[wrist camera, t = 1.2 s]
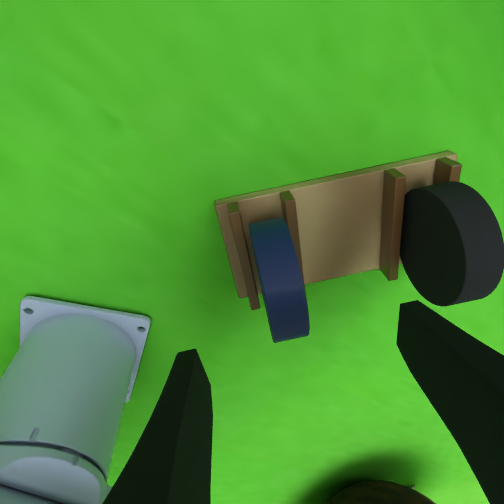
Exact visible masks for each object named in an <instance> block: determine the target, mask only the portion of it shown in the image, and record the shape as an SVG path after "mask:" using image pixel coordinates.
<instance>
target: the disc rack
mask: <svg viewBox="0 0 504 504" xmlns="http://www.w3.org/2000/svg"><path fill="white" fill-rule="evenodd" d="M456 161H457V154H456V153H453V152H451V151H446V152H441V153H436V154H432V155H427V156H422V157H418V158H413V159H408V160H403V161H399V162H394V163H389V164H385V165H380V166H375V167H370V168H366V169H361V170H356V171H352V172H347V173H342V174H337V175H333V176H328V177H323V178H319V179H314V180H309V181H304V182H300V183H295V184H290V185H286V186H281V187H276V188H271V189H267V190H262V191H257V192H253V193H248V194H243V195H238V196H234V197H229V198H224V199H219V200H215V208H216V212H217V216H218V220H219V223H220V227H221V231H222V235H223V239H224V243H225V246H226V250H227V254H228V258H229V262H230V266H231V270H232V273H233V277H234V281H235V285H236V289H237V293H238V297H239V298H243V297H248V298H249V302H250V306H251V310H255V309H260V303H259V298H258V294H262V290H261V285H260V281H259V276H258V271H257V267H256V262H255V257H254V252H253V247H252V242H251V237H250V232H249V227H248V224H250V223H254V222H259V221H264V220H269V219H273V218H278V217H282V218H283V219H284V221H285V222H286V224H287V227H288V229H289V232H290V235H291V238H292V241H293V244H294V247H295V251H296V254H297V258H298V262H299V266H300V270H301V274H302V279H303V284H304V289H305V284H309V283H314V282H318V281H323V280H328V279H332V278H337V277H342V276H346V275H351V274H356V273H360V272H365V271H370V270H374V269H379V268H380V270H381V271H382V273H383V274H384V275H385V277H386V278H387V279H388V280H389V281H391V280H396V279H397V278H398V267H399V264H402V261H401V258H400V244H401V232H402V221H403V209H404V198H405V194H406V193H408V192H409V191H410V190H412V189H415V188H419V187H424V186H429V185H434V184H438V183H443V182H448V181H456V182H459V178H460V173H461V167H462V164H461V163H458V162H456ZM305 294H306V292H305Z"/></svg>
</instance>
